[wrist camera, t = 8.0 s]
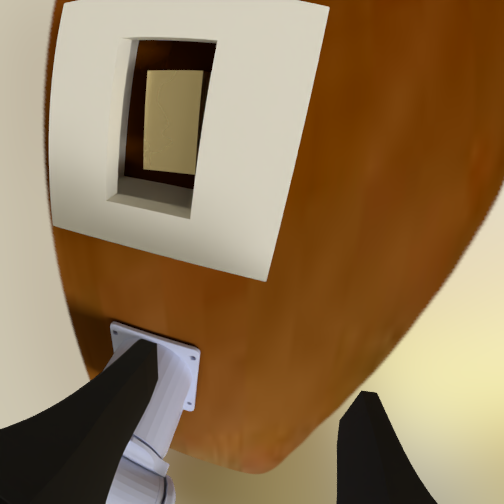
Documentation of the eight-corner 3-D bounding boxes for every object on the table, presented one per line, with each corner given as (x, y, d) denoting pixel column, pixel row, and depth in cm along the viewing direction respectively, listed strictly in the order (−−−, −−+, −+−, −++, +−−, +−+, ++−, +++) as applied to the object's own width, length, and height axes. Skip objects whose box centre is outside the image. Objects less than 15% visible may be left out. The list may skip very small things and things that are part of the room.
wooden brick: (220, 154, 17) (195, 174, 13) (179, 150, 18) (143, 169, 14) (228, 75, 15) (203, 70, 11) (184, 73, 15) (147, 70, 11)
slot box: (278, 225, 19) (265, 281, 13) (110, 188, 19) (53, 225, 14) (321, 36, 13) (329, 7, 8) (128, 19, 14) (64, 3, 9)
